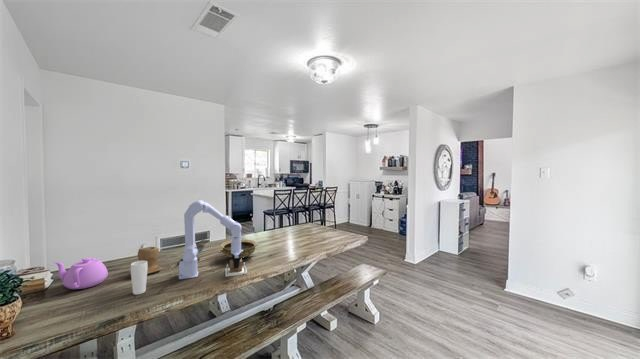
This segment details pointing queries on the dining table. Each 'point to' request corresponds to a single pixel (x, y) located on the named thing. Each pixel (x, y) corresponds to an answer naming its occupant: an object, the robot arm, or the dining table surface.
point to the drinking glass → (139, 276)
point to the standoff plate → (227, 272)
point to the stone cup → (150, 258)
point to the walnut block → (235, 268)
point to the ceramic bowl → (246, 246)
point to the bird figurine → (199, 247)
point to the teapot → (83, 273)
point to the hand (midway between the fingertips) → (236, 265)
